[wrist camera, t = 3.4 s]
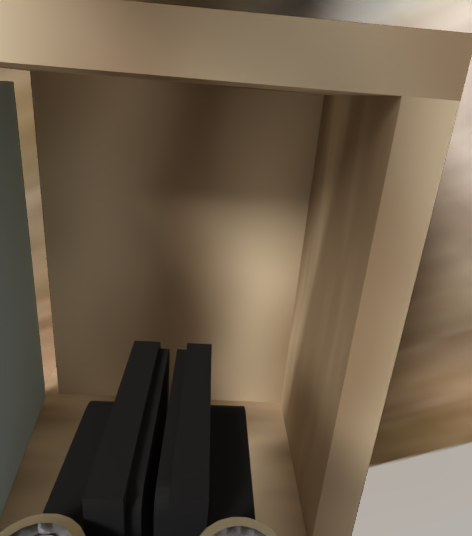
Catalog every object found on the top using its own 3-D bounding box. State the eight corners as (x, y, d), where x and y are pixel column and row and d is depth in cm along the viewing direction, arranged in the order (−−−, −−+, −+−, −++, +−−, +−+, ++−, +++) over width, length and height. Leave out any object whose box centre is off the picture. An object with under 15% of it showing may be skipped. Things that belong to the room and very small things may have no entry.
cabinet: (348, 63, 17) (477, 33, 8) (296, 397, 22) (340, 577, 14) (12, 33, 16) (-217, -32, 8) (47, 386, 22) (-61, 570, 13)
